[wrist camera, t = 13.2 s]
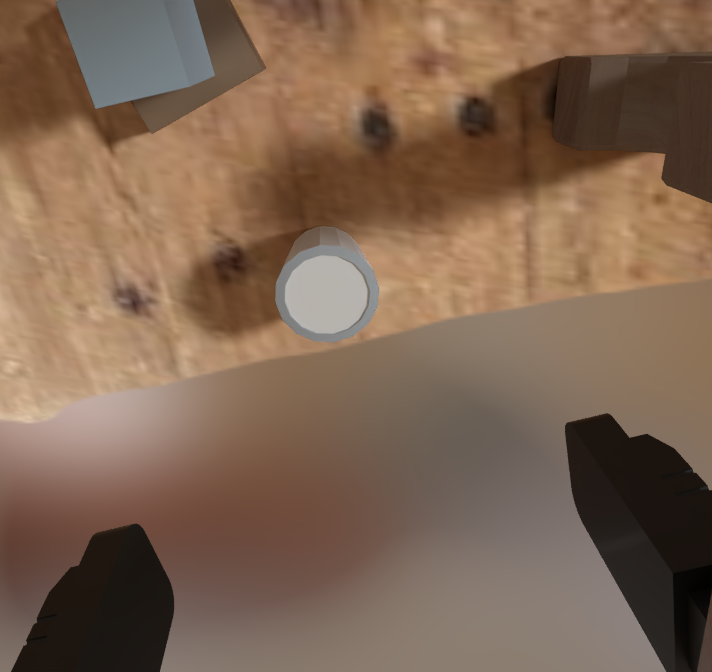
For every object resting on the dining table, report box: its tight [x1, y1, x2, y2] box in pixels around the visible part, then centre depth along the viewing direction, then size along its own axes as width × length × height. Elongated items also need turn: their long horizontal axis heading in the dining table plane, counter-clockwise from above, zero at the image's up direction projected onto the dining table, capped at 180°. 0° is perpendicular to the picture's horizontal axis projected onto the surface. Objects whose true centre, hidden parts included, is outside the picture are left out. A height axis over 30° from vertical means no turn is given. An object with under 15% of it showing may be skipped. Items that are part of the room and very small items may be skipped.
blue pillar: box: [55, 0, 215, 109], centre depth 33 cm, size 4×4×10 cm
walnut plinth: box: [131, 0, 266, 134], centre depth 39 cm, size 8×8×4 cm
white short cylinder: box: [275, 226, 379, 342], centre depth 44 cm, size 7×7×7 cm
